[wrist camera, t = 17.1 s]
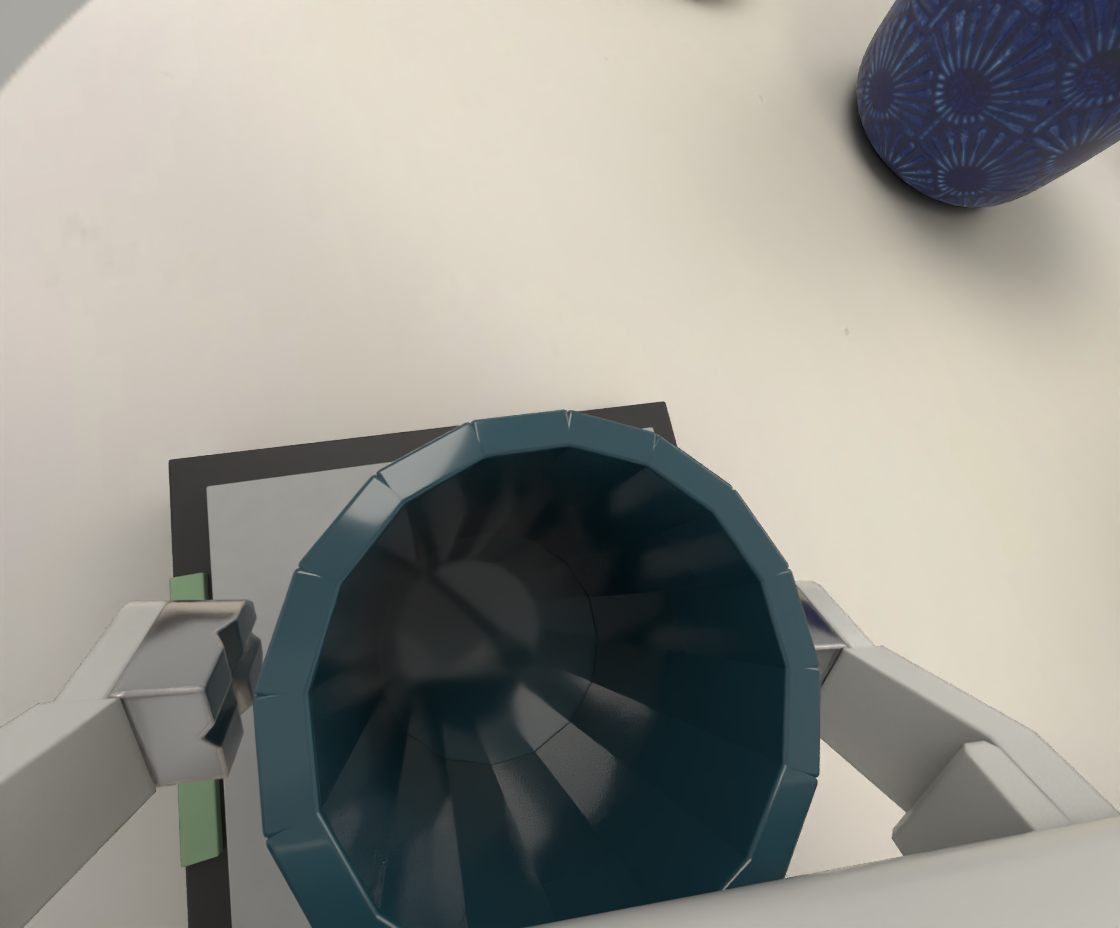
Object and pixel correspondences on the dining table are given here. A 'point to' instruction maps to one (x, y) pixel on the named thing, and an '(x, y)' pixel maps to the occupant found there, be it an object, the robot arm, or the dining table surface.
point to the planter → (991, 93)
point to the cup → (535, 687)
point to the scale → (269, 626)
